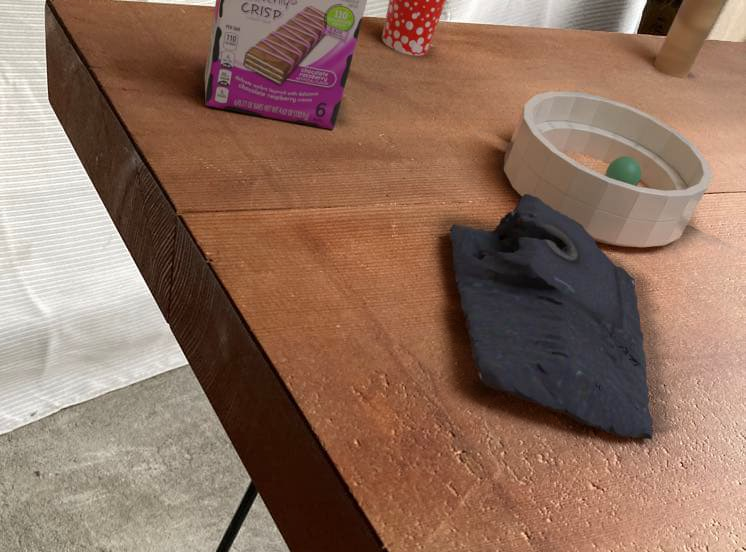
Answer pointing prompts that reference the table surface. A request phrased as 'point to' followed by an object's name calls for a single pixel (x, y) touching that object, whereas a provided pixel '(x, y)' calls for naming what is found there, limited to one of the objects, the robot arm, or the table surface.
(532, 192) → the wide hollow ring
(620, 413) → the dark slate chunk
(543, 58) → the table surface
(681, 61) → the cylinder
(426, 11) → the beverage cup
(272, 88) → the candy bar box
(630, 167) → the bead
